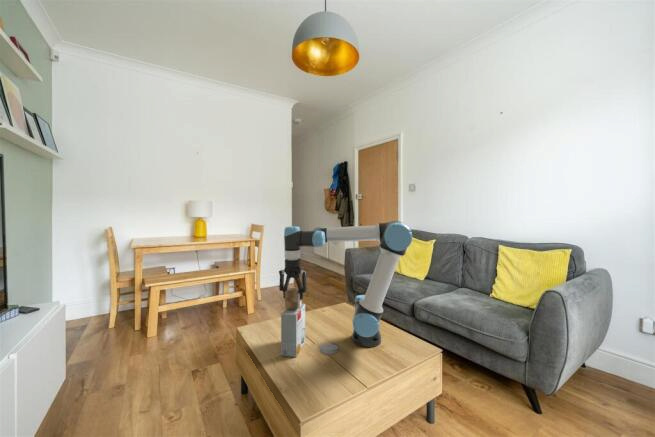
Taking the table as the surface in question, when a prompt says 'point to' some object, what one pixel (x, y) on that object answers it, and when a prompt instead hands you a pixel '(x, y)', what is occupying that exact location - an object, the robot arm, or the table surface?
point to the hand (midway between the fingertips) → (293, 305)
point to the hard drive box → (292, 331)
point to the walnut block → (291, 298)
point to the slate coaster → (329, 348)
